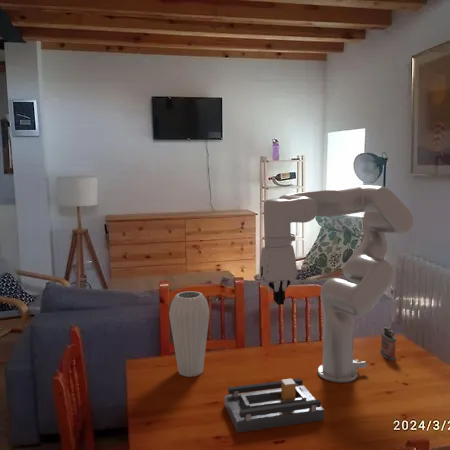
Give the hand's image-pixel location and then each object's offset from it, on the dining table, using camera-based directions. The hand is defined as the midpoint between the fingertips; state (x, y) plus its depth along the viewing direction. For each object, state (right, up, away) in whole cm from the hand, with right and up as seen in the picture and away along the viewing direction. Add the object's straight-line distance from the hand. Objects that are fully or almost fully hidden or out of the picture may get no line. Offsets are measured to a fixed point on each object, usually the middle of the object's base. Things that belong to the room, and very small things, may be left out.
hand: (279, 303), depth 136 cm
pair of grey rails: (-3, -26, -8) cm, 27 cm away
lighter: (+42, -24, +29) cm, 56 cm away
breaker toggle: (+2, -26, -7) cm, 27 cm away
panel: (-3, -29, -8) cm, 30 cm away
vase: (-27, -26, +18) cm, 42 cm away
